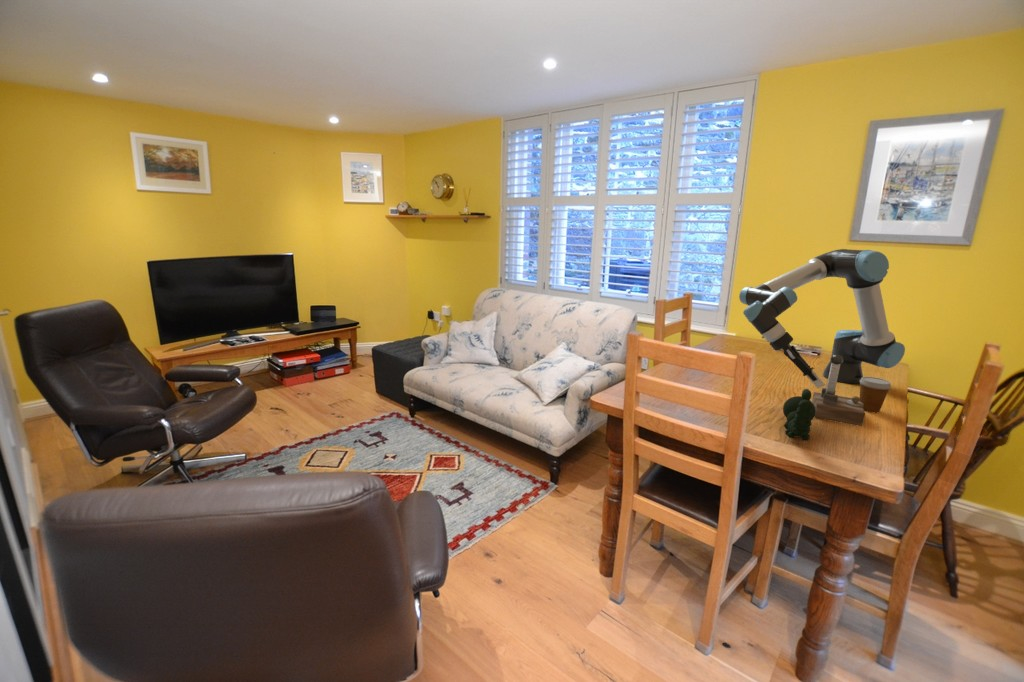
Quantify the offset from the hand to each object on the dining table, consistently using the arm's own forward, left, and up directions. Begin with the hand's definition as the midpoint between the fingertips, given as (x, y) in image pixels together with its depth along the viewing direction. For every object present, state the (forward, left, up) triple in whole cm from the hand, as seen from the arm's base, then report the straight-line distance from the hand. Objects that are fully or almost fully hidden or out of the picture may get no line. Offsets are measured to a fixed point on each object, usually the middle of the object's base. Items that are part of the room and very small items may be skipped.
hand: (821, 386), depth 168 cm
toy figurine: (+27, -8, -10) cm, 30 cm away
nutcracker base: (0, +6, -10) cm, 12 cm away
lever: (0, +3, -3) cm, 5 cm away
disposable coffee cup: (-13, +18, -10) cm, 24 cm away
